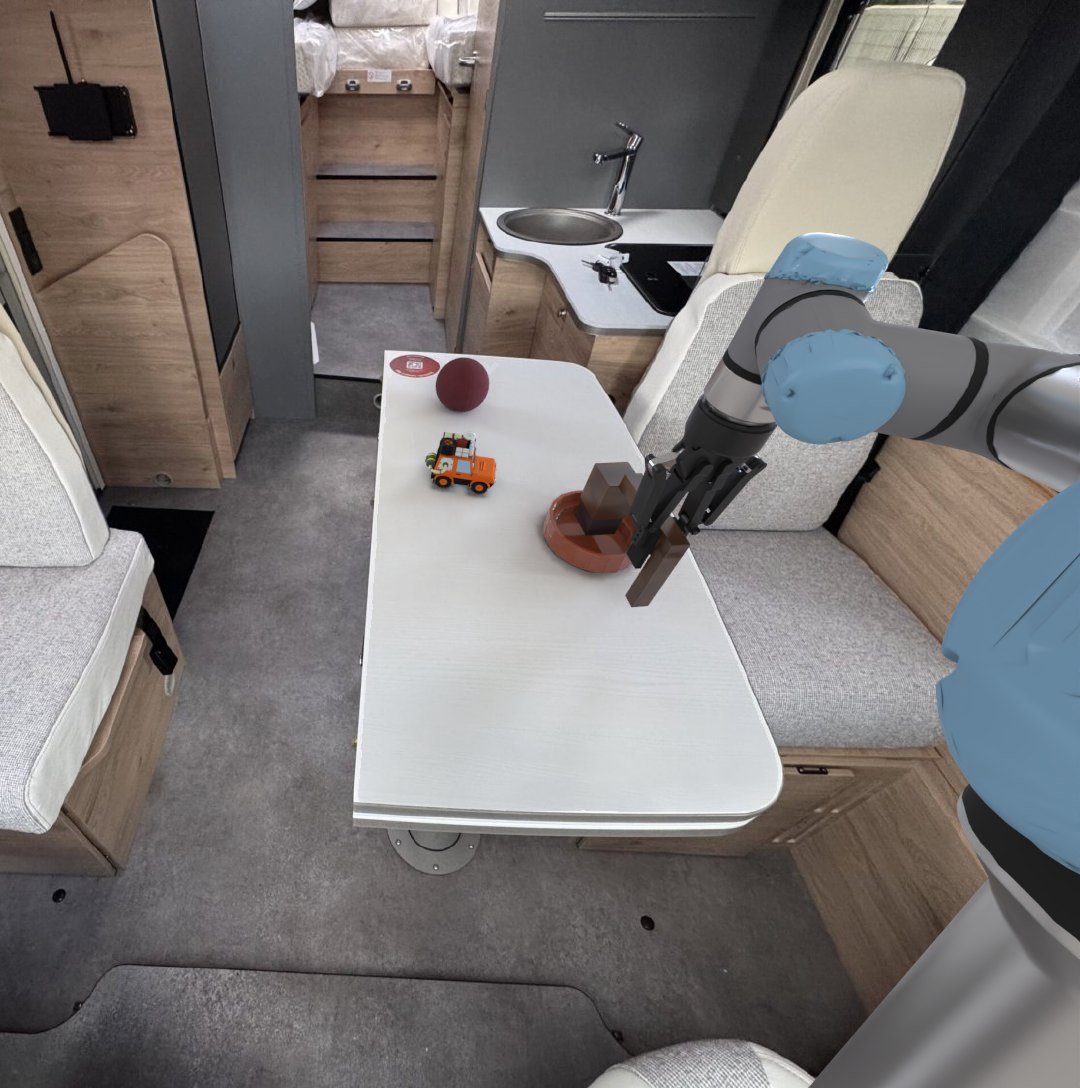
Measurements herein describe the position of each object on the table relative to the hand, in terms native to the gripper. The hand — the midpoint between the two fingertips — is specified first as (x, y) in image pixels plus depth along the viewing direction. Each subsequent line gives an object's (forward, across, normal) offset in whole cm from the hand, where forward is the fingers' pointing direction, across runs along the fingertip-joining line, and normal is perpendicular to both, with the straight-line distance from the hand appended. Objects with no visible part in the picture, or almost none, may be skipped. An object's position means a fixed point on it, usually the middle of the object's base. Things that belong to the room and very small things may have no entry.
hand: (644, 559), depth 75 cm
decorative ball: (+9, -12, +48) cm, 50 cm away
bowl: (+8, 0, +11) cm, 14 cm away
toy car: (+9, -17, +27) cm, 33 cm away
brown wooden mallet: (+5, 0, +5) cm, 8 cm away
